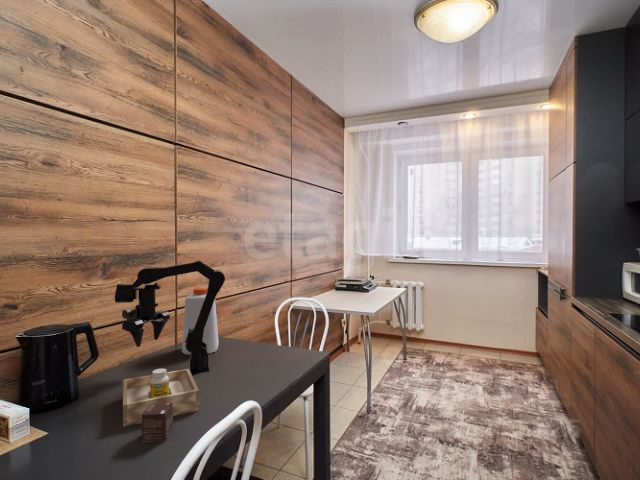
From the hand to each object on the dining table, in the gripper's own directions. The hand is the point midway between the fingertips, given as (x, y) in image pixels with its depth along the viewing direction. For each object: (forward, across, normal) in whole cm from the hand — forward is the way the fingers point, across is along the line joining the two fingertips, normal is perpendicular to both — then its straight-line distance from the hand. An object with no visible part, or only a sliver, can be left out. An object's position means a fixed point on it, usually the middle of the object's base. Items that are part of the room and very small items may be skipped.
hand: (147, 343), depth 136 cm
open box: (+12, +19, +20) cm, 30 cm away
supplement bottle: (+11, +19, +20) cm, 30 cm away
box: (+12, +34, +32) cm, 48 cm away
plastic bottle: (+12, -32, +2) cm, 34 cm away
